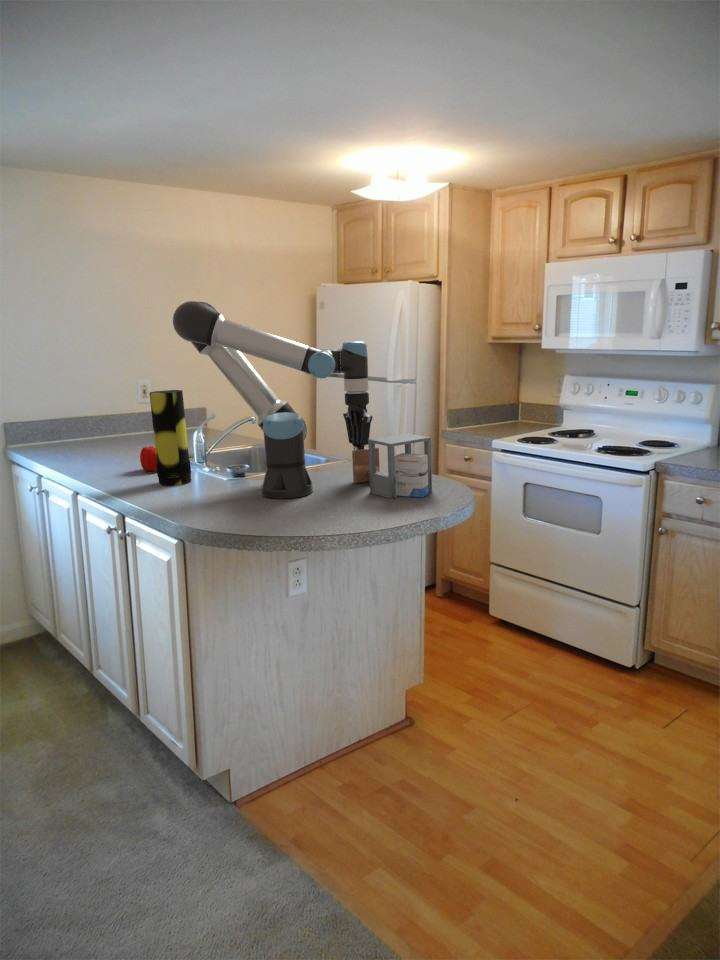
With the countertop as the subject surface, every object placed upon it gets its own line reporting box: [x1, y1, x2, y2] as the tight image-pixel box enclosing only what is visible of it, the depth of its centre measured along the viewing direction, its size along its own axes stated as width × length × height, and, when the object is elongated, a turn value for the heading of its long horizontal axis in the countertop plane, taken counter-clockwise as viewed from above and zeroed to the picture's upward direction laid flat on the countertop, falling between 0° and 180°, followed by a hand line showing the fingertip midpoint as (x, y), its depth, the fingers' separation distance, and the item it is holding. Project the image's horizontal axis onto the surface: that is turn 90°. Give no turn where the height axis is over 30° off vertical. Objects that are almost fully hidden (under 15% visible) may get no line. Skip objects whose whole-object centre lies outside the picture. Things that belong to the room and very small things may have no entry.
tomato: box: [139, 446, 157, 473], centre depth 252 cm, size 11×12×9 cm
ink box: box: [394, 452, 430, 498], centre depth 201 cm, size 8×5×12 cm, turn 63°
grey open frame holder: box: [367, 433, 433, 500], centre depth 206 cm, size 11×14×16 cm
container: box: [149, 389, 192, 487], centre depth 229 cm, size 11×11×30 cm
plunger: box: [351, 446, 396, 486], centre depth 213 cm, size 20×9×10 cm, turn 34°
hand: (359, 466), depth 224 cm, fingers closed
